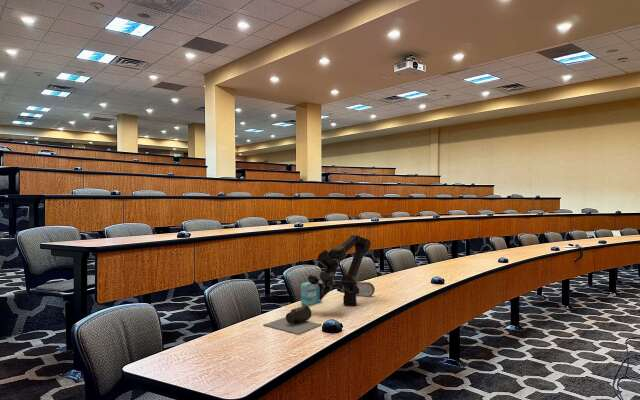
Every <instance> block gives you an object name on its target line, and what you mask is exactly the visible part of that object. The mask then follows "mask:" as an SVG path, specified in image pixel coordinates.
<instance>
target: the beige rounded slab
mask: <svg viewBox="0 0 640 400" xmlns="http://www.w3.org/2000/svg"><path fill="white" fill-rule="evenodd" d="M357 287H358V288H359V293H358V294H356V297H363V298H365V297H366V298H369V297H372V296H373V294H375V290H376V288H375V285H374V284H373V283H371V282H370V281H357Z"/></svg>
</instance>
